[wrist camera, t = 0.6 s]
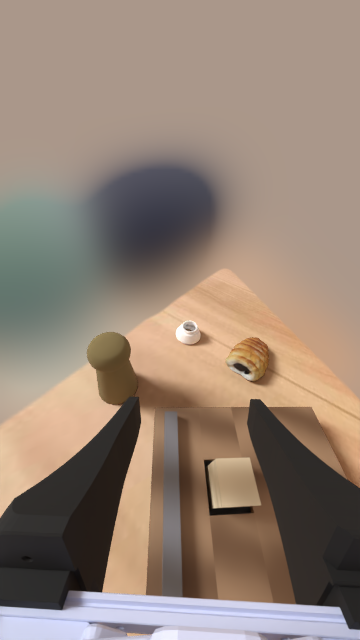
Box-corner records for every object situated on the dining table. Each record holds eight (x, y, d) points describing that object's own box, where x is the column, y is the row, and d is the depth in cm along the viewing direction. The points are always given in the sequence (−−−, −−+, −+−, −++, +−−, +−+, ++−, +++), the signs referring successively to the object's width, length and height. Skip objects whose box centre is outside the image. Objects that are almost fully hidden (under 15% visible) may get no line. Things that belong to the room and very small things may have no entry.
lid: (399, 597, 17) (425, 606, 15) (144, 626, 15) (143, 640, 13) (308, 409, 28) (317, 402, 27) (155, 409, 26) (155, 403, 25)
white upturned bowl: (192, 349, 38) (204, 334, 41) (194, 340, 36) (206, 324, 39) (170, 337, 40) (184, 323, 43) (171, 327, 38) (185, 313, 41)
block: (237, 507, 22) (261, 505, 17) (206, 509, 22) (222, 507, 17) (230, 468, 25) (249, 457, 20) (203, 469, 24) (215, 458, 19)
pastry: (242, 336, 42) (249, 324, 39) (273, 354, 39) (282, 342, 37) (221, 365, 36) (227, 353, 33) (255, 388, 34) (265, 377, 31)
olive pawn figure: (98, 372, 33) (81, 328, 25) (135, 366, 34) (130, 322, 26) (98, 408, 29) (77, 369, 21) (140, 399, 30) (135, 359, 22)
